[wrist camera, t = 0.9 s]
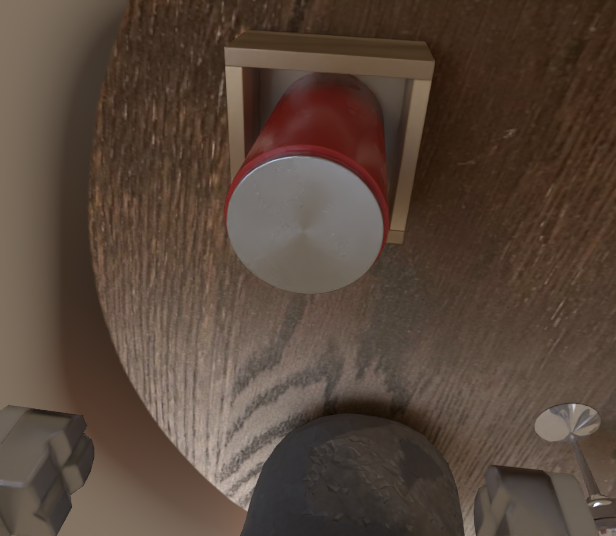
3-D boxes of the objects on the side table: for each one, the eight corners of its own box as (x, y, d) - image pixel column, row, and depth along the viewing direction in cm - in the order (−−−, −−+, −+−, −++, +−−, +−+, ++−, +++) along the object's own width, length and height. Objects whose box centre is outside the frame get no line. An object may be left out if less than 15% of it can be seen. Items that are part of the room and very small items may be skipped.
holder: (247, 29, 25) (223, 46, 22) (425, 41, 25) (435, 61, 21) (251, 190, 31) (233, 228, 27) (398, 203, 30) (402, 244, 26)
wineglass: (628, 403, 37) (720, 570, 28) (591, 455, 41) (659, 618, 31) (540, 389, 38) (599, 551, 28) (511, 443, 42) (554, 600, 32)
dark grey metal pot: (246, 472, 49) (203, 654, 36) (265, 347, 38) (214, 541, 26) (421, 507, 48) (437, 701, 36) (486, 391, 38) (538, 605, 26)
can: (273, 66, 26) (215, 142, 16) (391, 74, 25) (401, 157, 16) (273, 175, 29) (225, 290, 20) (376, 184, 29) (378, 306, 19)
